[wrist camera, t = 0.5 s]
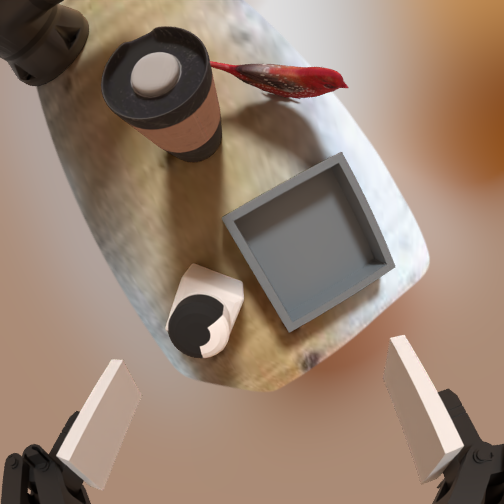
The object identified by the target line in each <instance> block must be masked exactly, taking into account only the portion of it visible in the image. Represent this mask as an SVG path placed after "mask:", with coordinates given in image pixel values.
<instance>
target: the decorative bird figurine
mask: <svg viewBox="0 0 504 504" xmlns="http://www.w3.org/2000/svg"><path fill="white" fill-rule="evenodd" d="M210 65H211V67H213V68H216V69H220V70H223V71H226V72H228V73H231V74H232V75H234V76H236V77H237V78H239V79H240V80H242V81H243V82H245V83H247V84H250V85H252V86H255V87H257V88H259V89H262V90H263V91H266V92H269V93H273V94H275V95H280V96H283V97H292V98H298V97H299V98H298V99H300V98H307V97H316V96H320V95H323V94H325V93H328V92H332V91H335V90H336V89H338V88H348V86H347V85H346V84H345V83H344V81H343V78H342V76H341V74H339V73H338V72H337V71H335V70H332V69H327V68H322V67H293V66H284V65H274V64H245V65H236V66H235V65H229V64H223V63H217V62H212V61H210Z"/></svg>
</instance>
